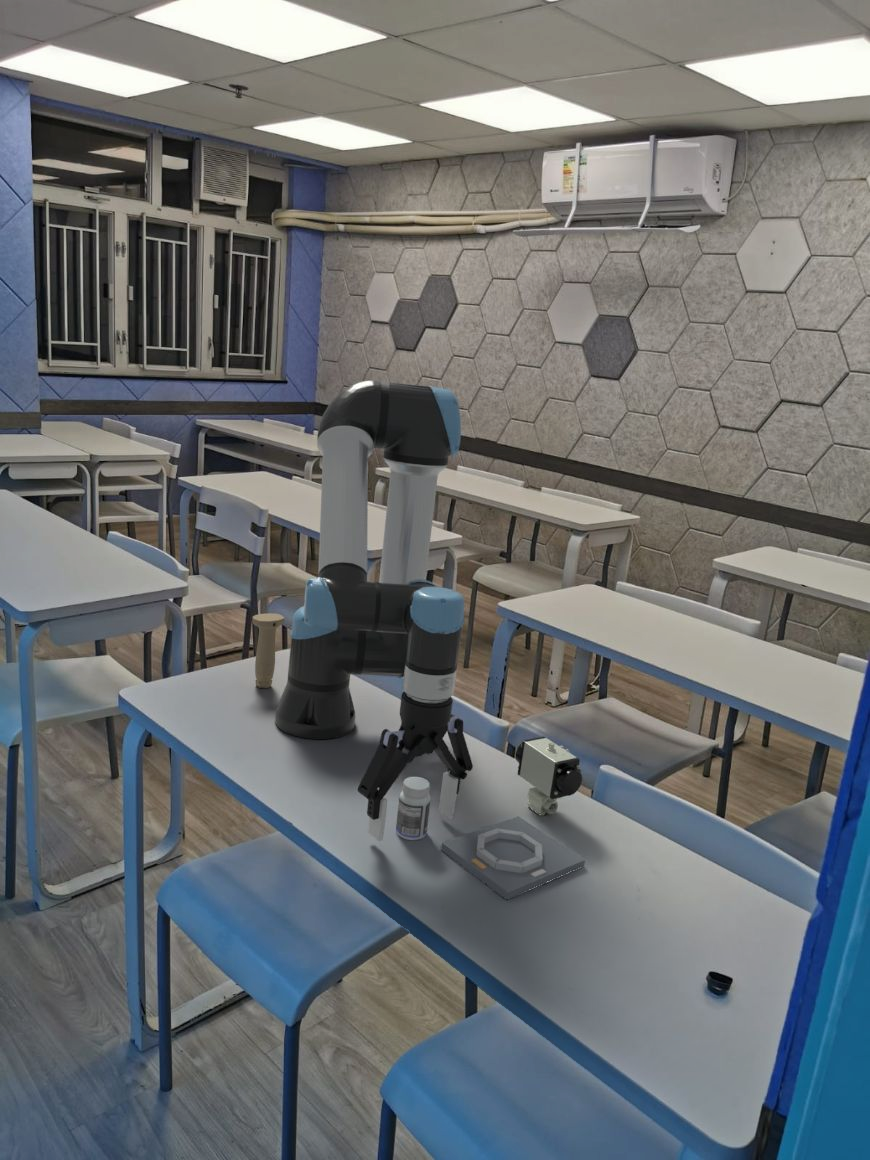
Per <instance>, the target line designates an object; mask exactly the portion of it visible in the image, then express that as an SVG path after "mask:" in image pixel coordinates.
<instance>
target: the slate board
mask: <svg viewBox="0 0 870 1160" xmlns="http://www.w3.org/2000/svg"><path fill="white" fill-rule="evenodd" d="M440 850H441V851H442V852H443V853H444V852H445V853H444V854H446V855H447V854H448V855H449V856H448V855H447V856H448V857H450V858H451V857H452V858H453V859H452V858H451V859H452V860H454V859H455V860H456V861H457V862H456V861H455V860H454V861H455V862H456V863H458V864H459V865H460V864H461V865H462V868H464V869H466V870H467V871H468V872H470V873H471V874H472V875H473V876H475V878H477V879H479V880H480V881H481V880H482V881H483V882H482V881H481V882H482V883H484V884H487V885H486V886H488V887H489V888H490V889H492V890H493V891H494V890H495V891H494V892H496V894H498V895H500V896H501V897H502V896H503V897H504V899H505V898H506V899H508V900H511V899H513V898H515V897H518V896H519V895H518V894H520V895H522V894H524V893H523V892H525V891H527V892H529V891H530V890H529V889H532V888H534V887H536V886H539V885H541V884H543V883H546V882H547V881H550V880H552V879H554V878H557V877H559V876H561V875H564V874H566V873H568V872H570V871H573V870H576V869H578V868H580V867H583V866H584V867H585V864H586V859H585V858H584V857H582V856H580V855H579V854H577V853H576V852H574V851H573V850H571V849H570V848H568V847H566V845H564V844H562V843H561V842H559V841H557V840H556V839H555V838H553V837H552V836H550V835H548V834H547V833H545V832H544V831H542V830H541V829H539V828H538V827H536V826H535V825H533V824H531V823H529V822H528V821H527V820H526V819H524V818H522V817H521V816H519V815H518V816H514V817H511V818H509V819H506V820H503V821H500V822H498V823H494V824H492V825H490V826H486V827H484V828H481V829H477V830H475V831H471V832H469V833H466V834H464V835H463V834H462V835H460V836H458V837H455V838H451V839H450V840H449V839H448V840H446V841H443V842H442V843H441V847H440ZM461 865H460V866H461ZM584 867H583V868H584ZM580 869H581V868H580ZM578 870H579V869H578ZM576 871H577V870H576ZM573 872H574V871H573ZM566 875H567V874H566ZM564 876H565V875H564ZM559 878H560V877H559ZM557 879H558V878H557ZM552 881H553V880H552ZM550 882H551V881H550ZM546 884H547V883H546ZM543 885H544V884H543ZM541 886H542V885H541ZM539 887H540V886H539ZM536 888H537V887H536ZM534 889H535V888H534ZM528 890H529V891H528ZM532 890H533V889H532ZM521 893H522V894H521ZM525 893H526V892H525ZM517 895H518V896H517ZM503 897H502V898H503ZM512 897H513V898H512ZM510 898H511V899H510ZM506 899H505V900H506Z"/></svg>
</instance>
